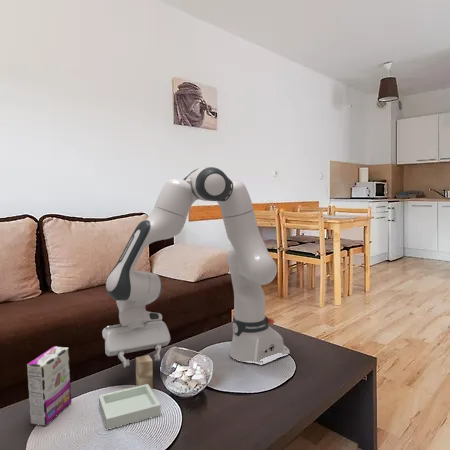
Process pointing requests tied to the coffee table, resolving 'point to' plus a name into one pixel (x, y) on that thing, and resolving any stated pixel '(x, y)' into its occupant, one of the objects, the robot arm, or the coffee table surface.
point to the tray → (129, 406)
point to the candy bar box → (49, 385)
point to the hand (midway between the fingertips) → (142, 363)
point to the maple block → (144, 371)
